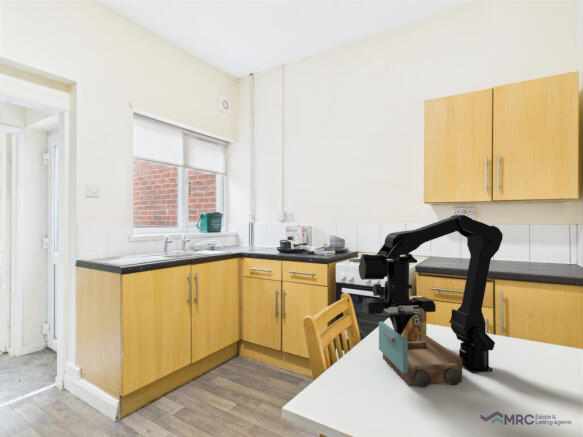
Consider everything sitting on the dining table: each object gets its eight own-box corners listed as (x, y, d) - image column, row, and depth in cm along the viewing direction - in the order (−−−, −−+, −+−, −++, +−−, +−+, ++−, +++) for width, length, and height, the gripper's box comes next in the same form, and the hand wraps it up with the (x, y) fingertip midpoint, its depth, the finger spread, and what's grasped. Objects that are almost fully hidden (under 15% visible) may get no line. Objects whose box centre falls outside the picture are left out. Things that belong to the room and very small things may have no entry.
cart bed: (425, 354, 96) (425, 334, 97) (465, 384, 79) (464, 360, 79) (381, 356, 95) (381, 336, 95) (411, 388, 77) (411, 363, 77)
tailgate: (382, 348, 93) (382, 321, 93) (407, 373, 78) (407, 340, 78) (376, 349, 93) (376, 321, 93) (400, 373, 78) (399, 340, 78)
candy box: (419, 340, 108) (419, 295, 108) (427, 345, 104) (427, 298, 104) (395, 342, 106) (395, 296, 106) (403, 347, 102) (402, 299, 102)
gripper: (415, 273, 95) (415, 325, 95) (355, 274, 93) (355, 328, 93) (436, 280, 84) (436, 339, 84) (369, 282, 82) (369, 342, 82)
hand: (398, 336), depth 86 cm, fingers closed
